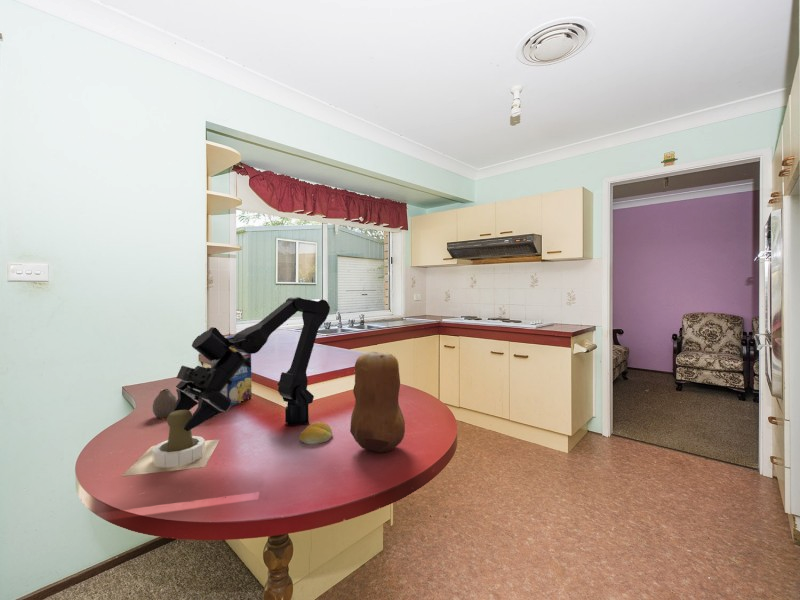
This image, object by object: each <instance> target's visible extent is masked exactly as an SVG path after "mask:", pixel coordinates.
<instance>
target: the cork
mask: <svg viewBox="0 0 800 600" xmlns="http://www.w3.org/2000/svg"><path fill="white" fill-rule="evenodd" d="M192 415H193V413H192V412H191V410H177V411H174V412H172V413H170V414H169V415H168V417H167V418H166V423H167V425H168V426H169V430H168V431H169V432H168V437H167V440H168V445H167V452H175V451H181V450H185V449H189V448H191V447H193V446H194V445H193V439H192V436H193V434H192V429H191V430H189V431H186V430H184V427H185V426H186V424H187V422H188V421H189V419H190V418H191V416H192Z"/></svg>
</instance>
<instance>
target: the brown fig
mask: <svg viewBox="0 0 800 600" xmlns="http://www.w3.org/2000/svg"><path fill="white" fill-rule="evenodd" d="M177 400H178V398H177V397H176V396H175V395H174V393H172V391H171V390H170V388H164V389H160V391H159V393H158V395H157V396H156V397H155V398H154V400H153V403H152V412H153V415H154V416H155V417H157V418H158V419H167V417H168V415H169V414H170V413H172V411H173V409H174V406H175V404H176V402H177Z"/></svg>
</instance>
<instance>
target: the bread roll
mask: <svg viewBox="0 0 800 600" xmlns="http://www.w3.org/2000/svg"><path fill="white" fill-rule="evenodd" d="M332 436H333V429H332V428H331V426H330V425H329V424H327V423H326V422H319V421H317V422H316V421H315V422H313V423H309V424H308V426H307V427H306V428H305V429H304V430H302V431H301V433H300V435H299V441H301V442H302V443H303V442H304V443H303V444H306V445H310V444H313V445H320V444H323V442H324V443H326V442H328V441H329V440H330V439H331V438H332ZM319 443H320V444H319Z"/></svg>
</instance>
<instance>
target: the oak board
mask: <svg viewBox="0 0 800 600" xmlns="http://www.w3.org/2000/svg"><path fill="white" fill-rule="evenodd" d="M220 441H221V439H212V440H210V439H209V440H205V453H204V455H203V456H202V457H201V458H199V459H198V460H196V461H194V462H192V463H188V464H185V465H182V466H177V467H168V468H166V467H165V468H163V467H156V466H155V465H154V464H153V455H152V449H153V448H154V447H155V446H156V445H151V446H150V448H148V449H147V450H146V451H145V452H144V453H143V454H142V455H141V457H139V458H138V459H137V460H136V462H134V463H133V464H132V465H131V467H129V468H128V469H127V470H126V471H125V472H124V473H123V474H122V477H128V476H131V477H132V476H137V475H138V476H139V475H145V474H146V475H147V474H156V473H163V472H165V473H166V472H172V471H173V472H175V471H181V470H188V469H189V470H190V469H199V468H205V467H206V465H207V464H208V462H209V460H210V458H211V456H212V455H213V453H214V451H215V449H216V447H217V446H218V444H219V442H220Z"/></svg>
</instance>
